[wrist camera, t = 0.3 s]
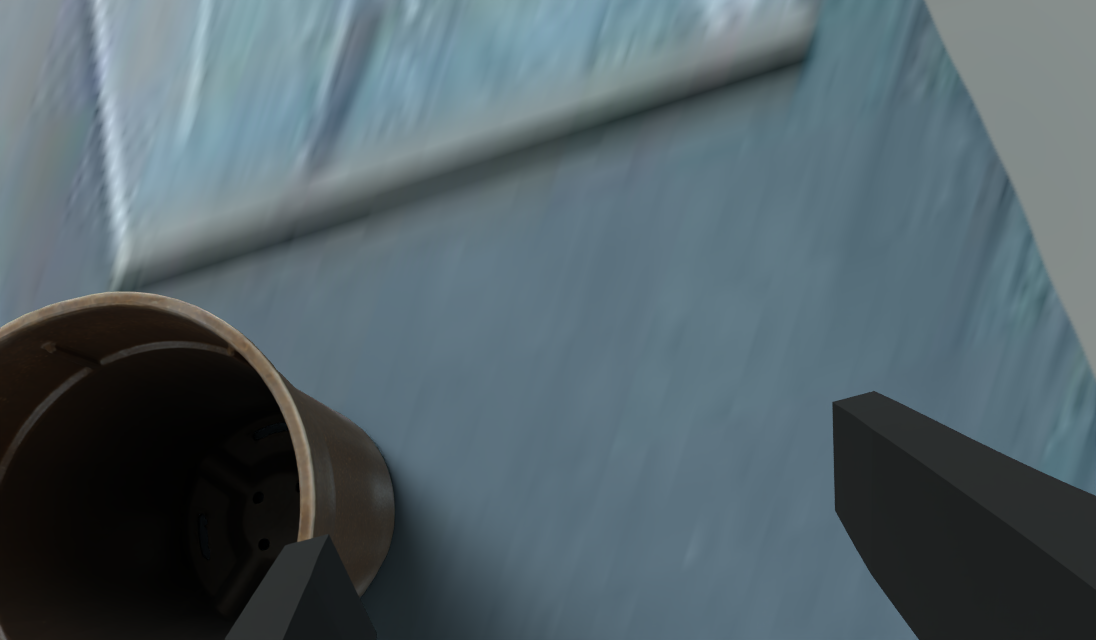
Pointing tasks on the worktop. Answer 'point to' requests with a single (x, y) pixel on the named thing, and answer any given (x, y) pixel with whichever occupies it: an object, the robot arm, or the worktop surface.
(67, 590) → the plant pot
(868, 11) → the worktop surface
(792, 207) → the worktop surface
